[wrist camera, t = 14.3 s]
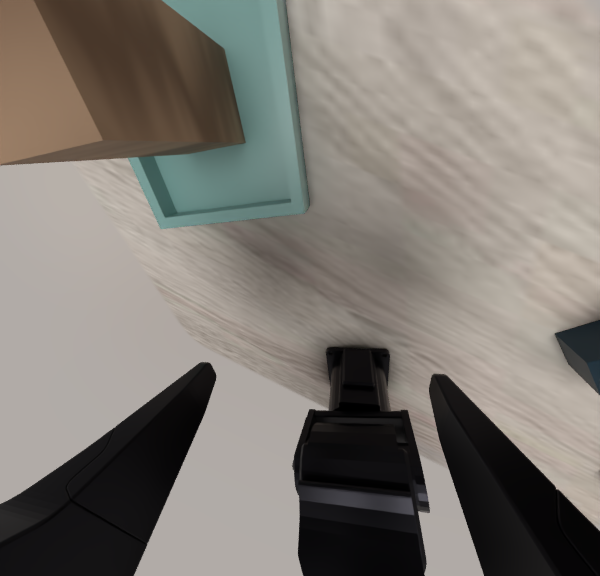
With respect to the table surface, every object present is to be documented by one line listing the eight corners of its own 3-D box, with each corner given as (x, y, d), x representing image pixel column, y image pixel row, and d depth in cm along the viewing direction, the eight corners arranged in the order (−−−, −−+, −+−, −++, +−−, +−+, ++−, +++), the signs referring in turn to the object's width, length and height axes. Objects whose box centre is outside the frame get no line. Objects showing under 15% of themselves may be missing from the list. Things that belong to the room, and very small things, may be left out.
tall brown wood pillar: (245, 142, 15) (103, 140, 6) (187, 154, 16) (-6, 165, 7) (224, 48, 13) (-47, -162, 4) (157, 69, 14) (-173, -62, 5)
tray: (309, 205, 17) (304, 213, 15) (180, 220, 20) (160, 229, 18) (273, -100, 10) (254, -160, 8) (83, -16, 13) (33, -46, 11)
